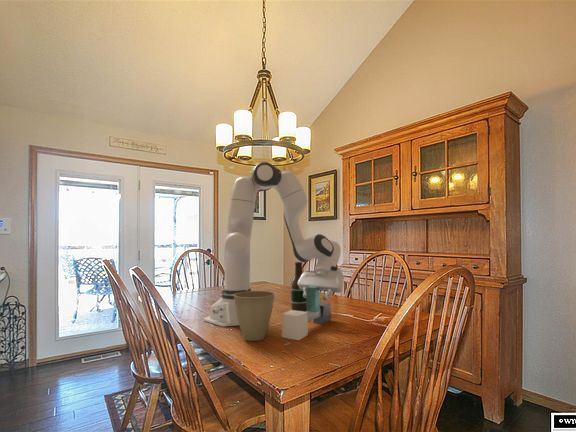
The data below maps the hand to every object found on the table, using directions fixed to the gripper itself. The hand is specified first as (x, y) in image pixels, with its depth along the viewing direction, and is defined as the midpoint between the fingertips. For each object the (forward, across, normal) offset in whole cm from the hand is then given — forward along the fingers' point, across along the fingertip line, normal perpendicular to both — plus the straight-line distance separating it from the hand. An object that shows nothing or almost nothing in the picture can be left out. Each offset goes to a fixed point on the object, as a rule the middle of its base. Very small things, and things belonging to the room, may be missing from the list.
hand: (314, 298), depth 133 cm
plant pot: (+26, -12, -10) cm, 31 cm away
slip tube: (+6, 0, +5) cm, 8 cm away
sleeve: (+3, 0, +13) cm, 13 cm away
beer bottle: (-5, -18, +21) cm, 28 cm away
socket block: (+20, 0, -4) cm, 20 cm away
